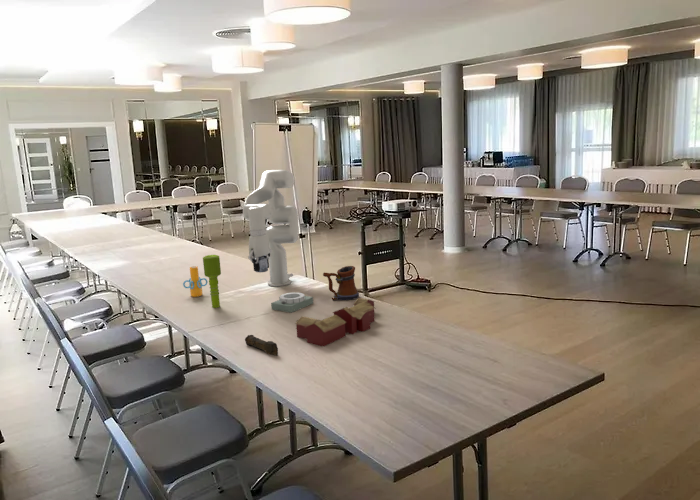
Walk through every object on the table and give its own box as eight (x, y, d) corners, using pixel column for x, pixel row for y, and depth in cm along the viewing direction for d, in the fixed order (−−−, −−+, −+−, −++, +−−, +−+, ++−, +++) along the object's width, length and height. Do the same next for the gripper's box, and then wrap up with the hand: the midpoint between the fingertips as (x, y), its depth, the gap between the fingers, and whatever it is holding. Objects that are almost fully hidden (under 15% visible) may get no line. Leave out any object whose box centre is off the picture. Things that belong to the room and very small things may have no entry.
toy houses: (329, 348, 216) (327, 322, 214) (289, 338, 229) (287, 314, 227) (397, 316, 250) (396, 293, 248) (359, 309, 263) (358, 287, 261)
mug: (331, 304, 271) (329, 273, 268) (319, 299, 280) (317, 269, 277) (363, 297, 280) (362, 267, 277) (351, 292, 289) (349, 263, 286)
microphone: (220, 309, 273) (215, 257, 268) (205, 308, 274) (199, 257, 270) (227, 304, 281) (222, 253, 276) (212, 304, 282) (207, 253, 277)
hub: (261, 268, 283) (260, 254, 282) (270, 269, 280) (269, 255, 278) (252, 271, 278) (251, 257, 277) (262, 273, 275) (260, 258, 274)
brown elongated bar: (245, 345, 223) (243, 334, 223) (254, 343, 226) (253, 331, 225) (271, 358, 209) (270, 346, 208) (280, 355, 212) (279, 343, 211)
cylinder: (200, 298, 293) (197, 269, 290) (181, 298, 295) (178, 269, 292) (211, 292, 304) (208, 264, 301) (192, 292, 306) (189, 264, 304)
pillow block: (293, 300, 281) (292, 290, 280) (313, 303, 275) (312, 292, 274) (271, 309, 268) (270, 298, 267) (291, 312, 262) (290, 301, 261)
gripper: (264, 228, 284) (267, 264, 288) (239, 235, 270) (243, 273, 274) (276, 229, 280) (279, 265, 284) (251, 236, 266) (254, 274, 270)
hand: (261, 269), depth 279 cm, fingers closed on hub, 6 cm apart
